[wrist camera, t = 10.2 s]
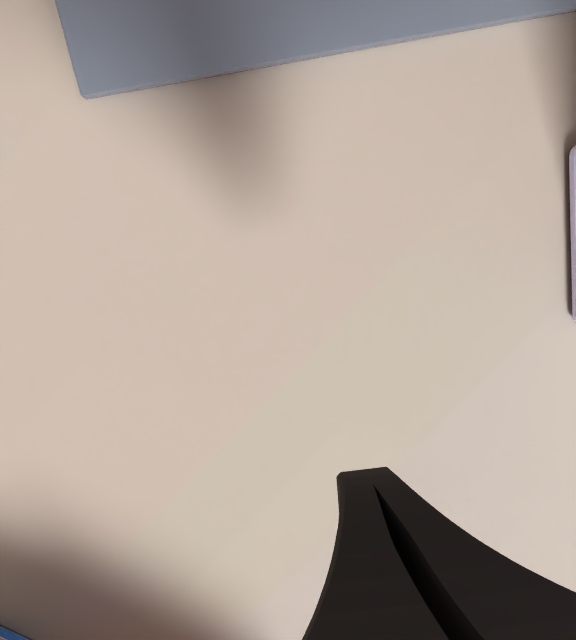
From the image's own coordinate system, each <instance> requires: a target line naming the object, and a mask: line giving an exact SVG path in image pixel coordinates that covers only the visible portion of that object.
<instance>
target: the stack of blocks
mask: <svg viewBox="0 0 576 640" xmlns="http://www.w3.org/2000/svg"><path fill="white" fill-rule="evenodd" d="M0 640H30V639H28V638H26V637H23V636H21V635H19V634H17V633H15V632H13V631H10V630H8V629H6V628H4V627H1V626H0Z"/></svg>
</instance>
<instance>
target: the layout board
mask: <svg viewBox="0 0 576 640" xmlns="http://www.w3.org/2000/svg"><path fill="white" fill-rule="evenodd" d="M55 3H56V6H57V10H58V14H59V17H60V21H61V25H62V28H63V32H64V36H65V39H66V43H67V47H68V50H69V54H70V58H71V61H72V65H73V69H74V72H75V76H76V80H77V83H78V87H79V91H80V94H81V96H82V97H84V98H86V99H91V98H96V97H102V96H107V95H113V94H118V93H124V92H130V91H135V90H141V89H146V88H152V87H157V86H163V85H168V84H174V83H179V82H185V81H190V80H196V79H201V78H207V77H213V76H218V75H224V74H229V73H235V72H240V71H246V70H251V69H257V68H262V67H268V66H273V65H279V64H285V63H290V62H296V61H301V60H307V59H312V58H318V57H323V56H329V55H334V54H340V53H345V52H351V51H356V50H362V49H368V48H373V47H379V46H384V45H390V44H395V43H401V42H406V41H412V40H417V39H423V38H428V37H434V36H440V35H445V34H451V33H456V32H462V31H467V30H473V29H478V28H484V27H489V26H495V25H500V24H506V23H512V22H517V21H523V20H528V19H534V18H539V17H545V16H550V15H556V14H561V13H567V12H572V11H576V0H55Z"/></svg>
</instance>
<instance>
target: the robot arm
mask: <svg viewBox="0 0 576 640" xmlns="http://www.w3.org/2000/svg"><path fill="white" fill-rule="evenodd" d="M569 175H570V222H571V269H572V316H573V320H574V321H575V322H576V145H575V146H574V147H573V148H572V149H571V151H570V155H569ZM337 490H338V504H339V523H338V530H337V535H336V541H335V546H334V551H333V555H332V560H331V564H330V567H329V571H328V574H327V578H326V581H325V584H324V587H323V590H322V593H321V596H320V599H319V601H318V604H317V607H316V609H315V612H314V614H313V617H312V619H311V621H310V624H309V626H308V628H307V630H306V632H305V634H304V637H303V639H302V640H576V592H573V591H571V590H569V589H567V588H565V587H563V586H560V585H558V584H556V583H554V582H552V581H550V580H548V579H546V578H544V577H542V576H540V575H538V574H536V573H534V572H532V571H530V570H529V569H527V568H525V567H523V566H521V565H519V564H517V563H516V562H514V561H512V560H510V559H508V558H507V557H505V556H504V555H502V554H500V553H499V552H497V551H495V550H494V549H492V548H490V547H489V546H487V545H485V544H484V543H482V542H481V541H479V540H478V539H476V538H475V537H473V536H472V535H470V534H469V533H467V532H466V531H464V530H463V529H462V528H460V527H459V526H457V525H456V524H455V523H453V522H452V521H450V520H449V519H448V518H447V517H445V516H444V515H443V514H441V513H440V512H439V511H438V510H436V509H435V508H434V507H433V506H431V505H430V504H429V503H428V502H426V501H425V500H424V499H423V498H422V497H421V496H419V495H418V494H417V493H416V492H415V491H414V490H412V489H411V488H410V487H409V486H408V485H407V484H406V483H405V482H403V481H402V480H401V479H400V478H399V477H398V476H397V475H396V474H394V473H393V472H392V471H391V470H390V469H389V468H387V467H380V468H372V469H364V470H355V471H347V472H340V473H339V475H338V476H337Z"/></svg>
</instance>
